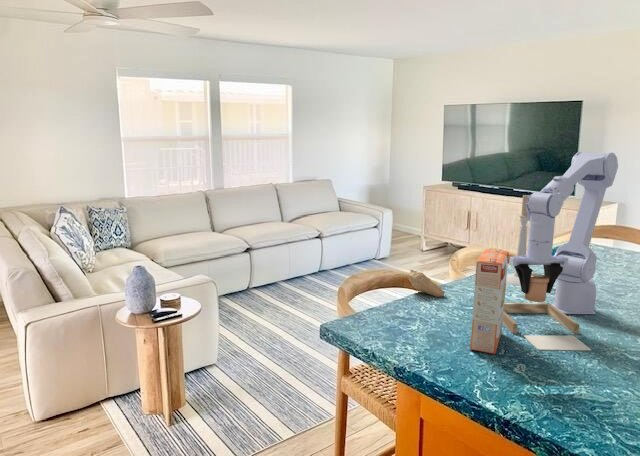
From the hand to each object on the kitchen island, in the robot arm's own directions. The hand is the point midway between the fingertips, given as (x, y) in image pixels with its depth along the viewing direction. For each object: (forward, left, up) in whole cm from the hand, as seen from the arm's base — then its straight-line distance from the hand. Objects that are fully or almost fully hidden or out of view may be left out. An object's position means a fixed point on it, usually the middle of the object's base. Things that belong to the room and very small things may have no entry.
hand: (536, 292), depth 124 cm
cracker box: (+16, +12, -9) cm, 22 cm away
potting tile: (0, +12, -8) cm, 15 cm away
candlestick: (-11, -37, -9) cm, 40 cm away
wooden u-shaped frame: (0, -1, -8) cm, 8 cm away
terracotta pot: (0, 0, -2) cm, 2 cm away
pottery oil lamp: (+23, -24, -9) cm, 35 cm away
